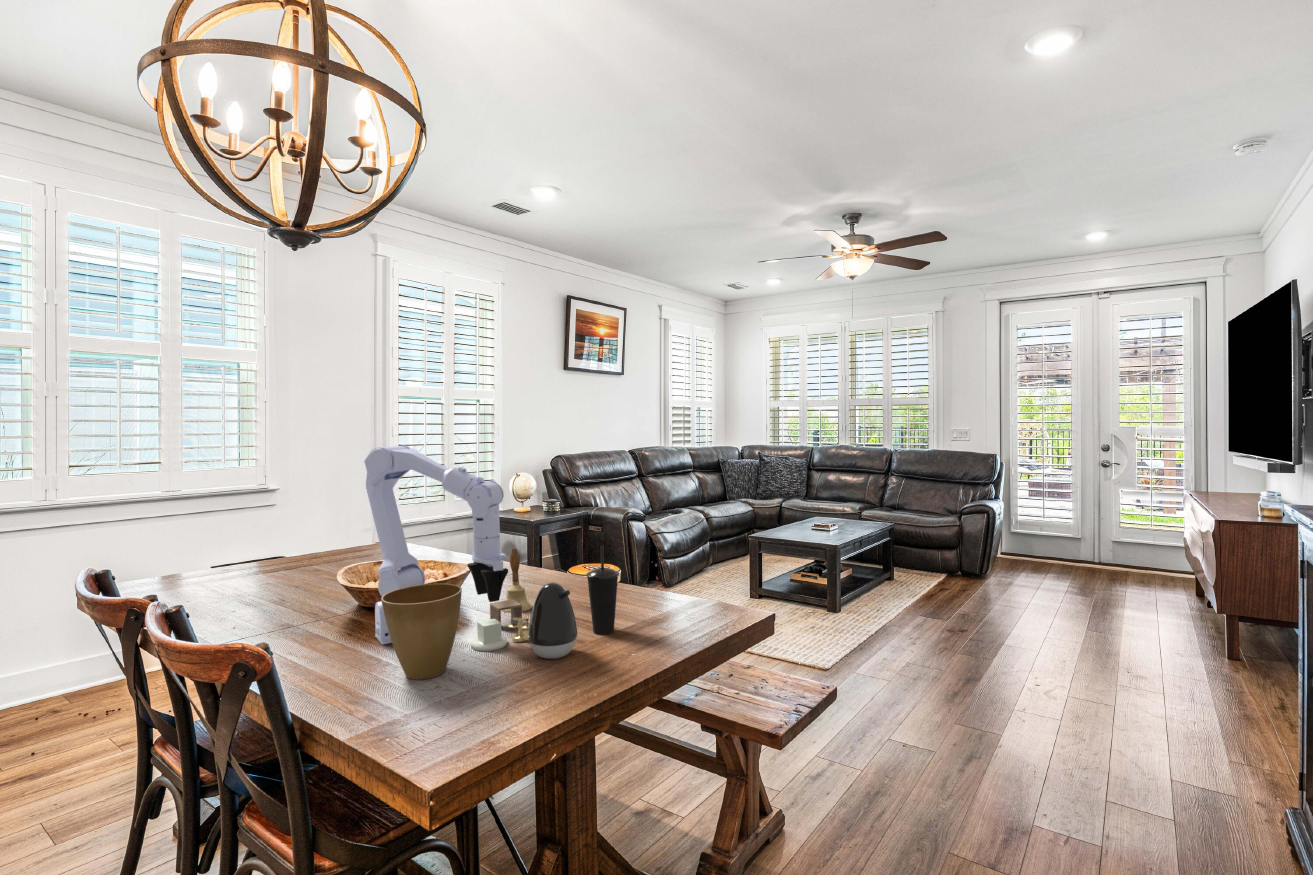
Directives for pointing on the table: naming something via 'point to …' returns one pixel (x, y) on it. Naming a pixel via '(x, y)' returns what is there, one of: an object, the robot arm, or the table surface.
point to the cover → (503, 605)
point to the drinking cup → (603, 597)
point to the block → (489, 631)
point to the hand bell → (516, 584)
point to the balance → (519, 629)
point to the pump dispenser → (552, 623)
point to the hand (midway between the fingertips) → (488, 597)
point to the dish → (488, 645)
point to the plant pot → (423, 626)
